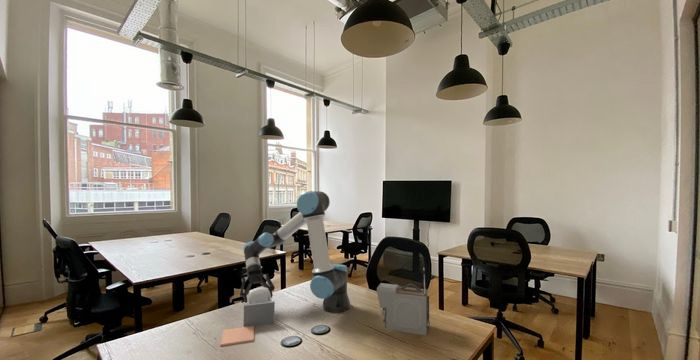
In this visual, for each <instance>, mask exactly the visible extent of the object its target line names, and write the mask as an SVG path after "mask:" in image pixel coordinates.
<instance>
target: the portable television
mask: <svg viewBox="0 0 700 360" xmlns="http://www.w3.org/2000/svg"><path fill="white" fill-rule="evenodd" d="M422 268H423V270H425V267H422ZM376 294H377V299H378V304H379V307H380V309H381V310H380V315H381V316H383V317H384V319H383V320H382V322H383V323H384V328H385V329H387V330H389V329H390V330H391V331H397V332H401V331H403V332H404V333H407V332H408V333H407V334H409V333H410V334H414V335H420V336H421V335H422V336H427V332H428V328H429V327H430V326H429V325H430V324H431V320H430V297H431V296H430V295H429V293H428V289H427V288H426V278H425V275H423V288H420V287H418V286H416V284H414V283H409V284H406V285H404V286H401V285H399V284H395V283H384V282H380V284H378V286H377V287H376ZM429 329H430V328H429Z"/></svg>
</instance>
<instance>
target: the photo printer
mask: <svg viewBox="0 0 700 360" xmlns="http://www.w3.org/2000/svg"><path fill="white" fill-rule="evenodd" d="M248 297H249V303H250V304H255V303H263V302H269V290H268V288H266V287H263V286H260V287H256V288H253V289H249V291H248Z"/></svg>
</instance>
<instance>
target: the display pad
mask: <svg viewBox="0 0 700 360" xmlns="http://www.w3.org/2000/svg"><path fill="white" fill-rule="evenodd" d="M254 328H255V326H249V327H243V326H241V327H235V328H227V329H223V331H222V335H221V339H220V340H221V341H220V343H219V344H220V345H219V346H220V347H224V346H231V345H238V344H245V343H249V342H250V343H251V342H254V341H255V340H254V339H255V338H254V337H255V336H254V335H255V333H254V332H255V331H254V330H255V329H254Z"/></svg>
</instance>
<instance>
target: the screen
mask: <svg viewBox="0 0 700 360" xmlns="http://www.w3.org/2000/svg"><path fill="white" fill-rule="evenodd" d="M271 324H275V300H274V301H273V300H272V302H263V303H255V304H247V303H245V304H243V326H242V327H249V326H254V327H256V326H257V327H258V326H265V325H271Z"/></svg>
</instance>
